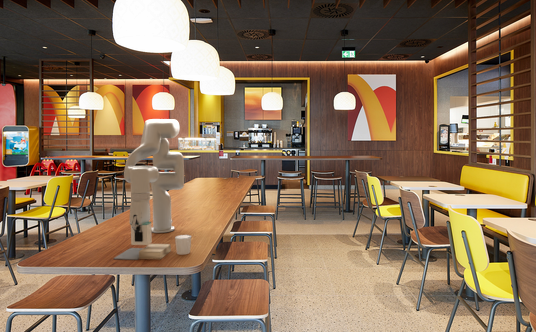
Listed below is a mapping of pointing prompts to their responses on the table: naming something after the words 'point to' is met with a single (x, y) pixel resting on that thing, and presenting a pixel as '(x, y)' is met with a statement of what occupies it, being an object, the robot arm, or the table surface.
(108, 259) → the table surface
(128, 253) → the grey mat
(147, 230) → the cream block
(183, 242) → the pale pink cylinder
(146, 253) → the birch step
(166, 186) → the robot arm
